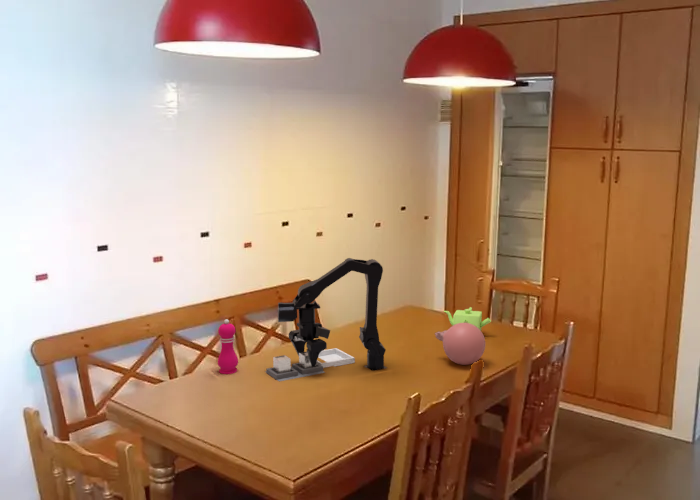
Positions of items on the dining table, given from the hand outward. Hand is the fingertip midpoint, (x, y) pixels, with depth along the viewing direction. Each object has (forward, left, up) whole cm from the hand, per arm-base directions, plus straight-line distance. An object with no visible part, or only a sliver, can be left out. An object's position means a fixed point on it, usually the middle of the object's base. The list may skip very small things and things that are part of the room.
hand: (307, 363), depth 264 cm
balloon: (-19, -53, -4) cm, 56 cm away
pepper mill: (+13, +25, -4) cm, 28 cm away
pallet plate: (0, +5, -3) cm, 6 cm away
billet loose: (0, 0, -2) cm, 2 cm away
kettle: (+8, -79, -4) cm, 79 cm away
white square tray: (+6, -12, -3) cm, 14 cm away
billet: (0, +10, -2) cm, 10 cm away
